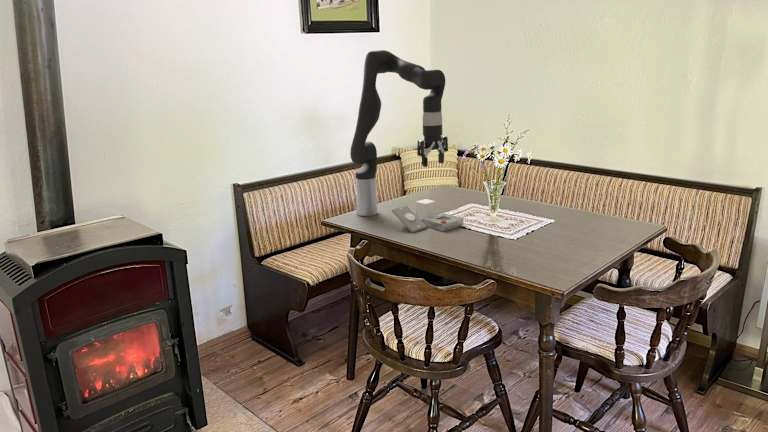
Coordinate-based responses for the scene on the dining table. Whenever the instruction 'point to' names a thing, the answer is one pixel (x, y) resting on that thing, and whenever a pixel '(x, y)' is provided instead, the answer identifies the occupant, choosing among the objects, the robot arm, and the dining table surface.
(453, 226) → the socket
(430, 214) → the plug
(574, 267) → the dining table surface
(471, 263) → the dining table surface
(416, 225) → the light switch
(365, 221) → the dining table surface
